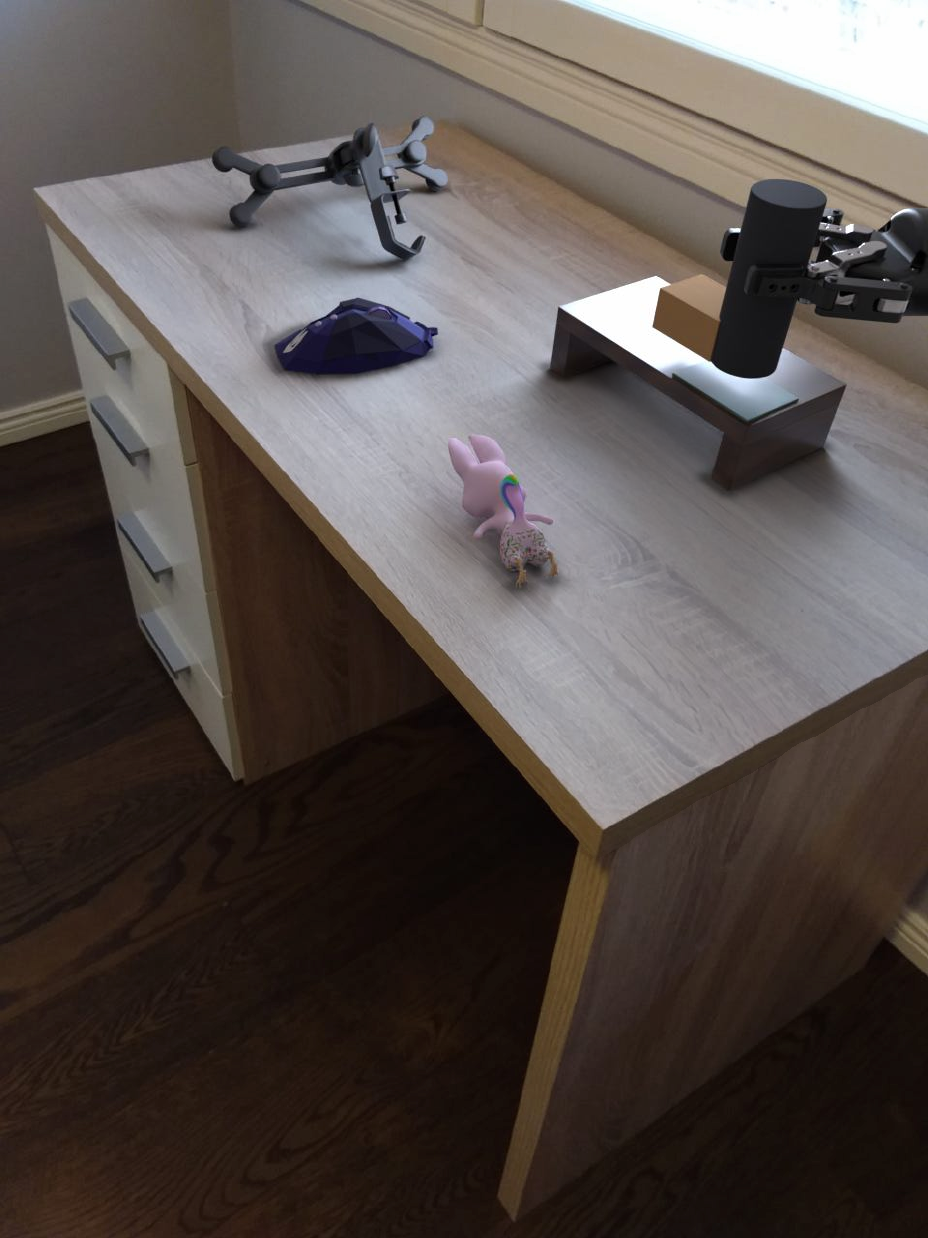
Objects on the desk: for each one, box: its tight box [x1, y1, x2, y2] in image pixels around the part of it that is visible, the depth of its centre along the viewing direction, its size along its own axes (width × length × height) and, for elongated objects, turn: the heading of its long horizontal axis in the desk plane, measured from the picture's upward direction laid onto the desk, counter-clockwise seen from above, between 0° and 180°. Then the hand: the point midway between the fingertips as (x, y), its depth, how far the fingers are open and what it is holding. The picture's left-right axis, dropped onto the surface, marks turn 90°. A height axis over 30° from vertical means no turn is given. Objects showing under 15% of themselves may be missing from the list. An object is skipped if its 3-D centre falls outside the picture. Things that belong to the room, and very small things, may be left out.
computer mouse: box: [274, 297, 439, 375], centre depth 92 cm, size 9×15×4 cm, turn 108°
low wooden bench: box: [549, 275, 848, 492], centre depth 87 cm, size 22×12×6 cm, turn 37°
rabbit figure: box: [447, 434, 560, 588], centre depth 74 cm, size 6×6×15 cm
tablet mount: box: [211, 115, 449, 261], centre depth 109 cm, size 27×14×17 cm
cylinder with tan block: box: [652, 178, 828, 379], centre depth 76 cm, size 10×5×13 cm, turn 37°
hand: (736, 262), depth 73 cm, fingers closed on cylinder with tan block, 5 cm apart
